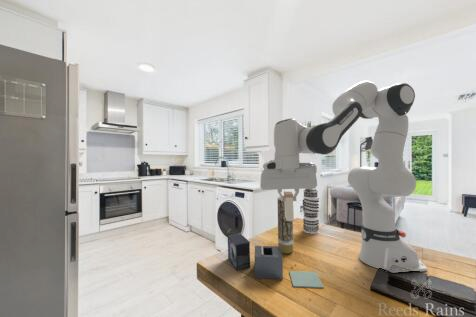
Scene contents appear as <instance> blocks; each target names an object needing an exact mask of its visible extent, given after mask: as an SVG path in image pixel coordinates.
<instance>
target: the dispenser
mask: <svg viewBox="0 0 476 317" xmlns="http://www.w3.org/2000/svg"><path fill="white" fill-rule="evenodd" d="M283 260H284V259H283V253H281V249H280V246H276V245H272V246H271V245H254V278H255V279H263V280H264V279H265V280H284V275H283V274H284V273H283V270H284V269H283V262H284V261H283Z"/></svg>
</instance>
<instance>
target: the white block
mask: <svg viewBox="0 0 476 317" xmlns="http://www.w3.org/2000/svg"><path fill="white" fill-rule="evenodd" d="M283 196H285V201H284V205H285V218H286V221H293V222H294V221H295V217H294V201H293V196H294V194H293V191H292V189H288V190H283Z"/></svg>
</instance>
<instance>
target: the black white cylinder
mask: <svg viewBox="0 0 476 317" xmlns="http://www.w3.org/2000/svg"><path fill="white" fill-rule="evenodd" d="M318 192H319V191H318V190H317V189H316V188H309V189H303V199H302V205H303V206H302V211H303V219H302V220H303V225H302V228H303V232H304V233H306V234H309V233H310V234H312V235H317V234H319V227H320V225H319V224H320V223H319V221H320V220H319V216H318V215H319V214H318V213H319V212H320V211H319V210H318V209H320V207H319V205H320V204H319V203H320V198H319V197H318V196H319V195H318Z"/></svg>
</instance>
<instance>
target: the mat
mask: <svg viewBox="0 0 476 317" xmlns="http://www.w3.org/2000/svg"><path fill="white" fill-rule="evenodd" d="M288 272H289V273H288V274H289V275H290V280H291V284H292V287H293V288H311V289H312V288H315V289H324V285H323V282H322V281H321V279H320V277H319V275H318V272H317V271H305V270H304V271H302V270H299V271H298V270H297V271H296V270H289V271H288Z"/></svg>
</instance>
